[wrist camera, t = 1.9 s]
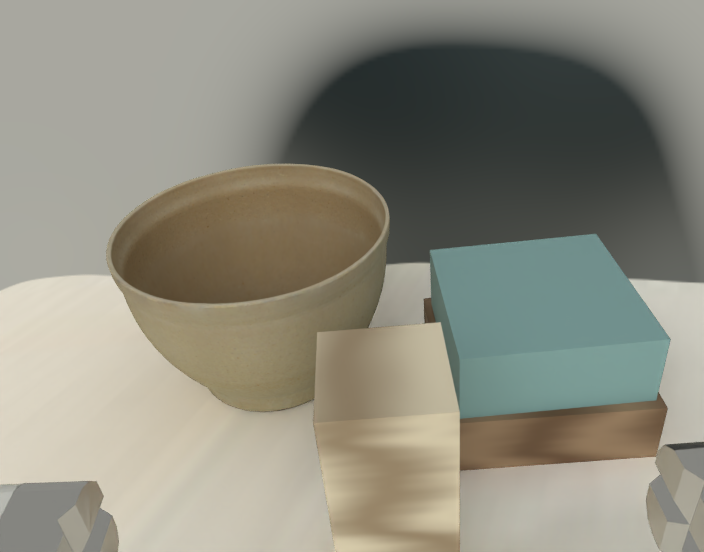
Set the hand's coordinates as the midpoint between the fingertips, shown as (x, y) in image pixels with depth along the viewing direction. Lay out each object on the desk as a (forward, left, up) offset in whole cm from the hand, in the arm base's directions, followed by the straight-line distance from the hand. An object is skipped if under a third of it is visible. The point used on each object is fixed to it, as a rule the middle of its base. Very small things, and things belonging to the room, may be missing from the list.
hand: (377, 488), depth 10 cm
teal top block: (-9, -23, -17) cm, 30 cm away
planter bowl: (+7, -27, -21) cm, 35 cm away
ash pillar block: (0, -12, -20) cm, 24 cm away
